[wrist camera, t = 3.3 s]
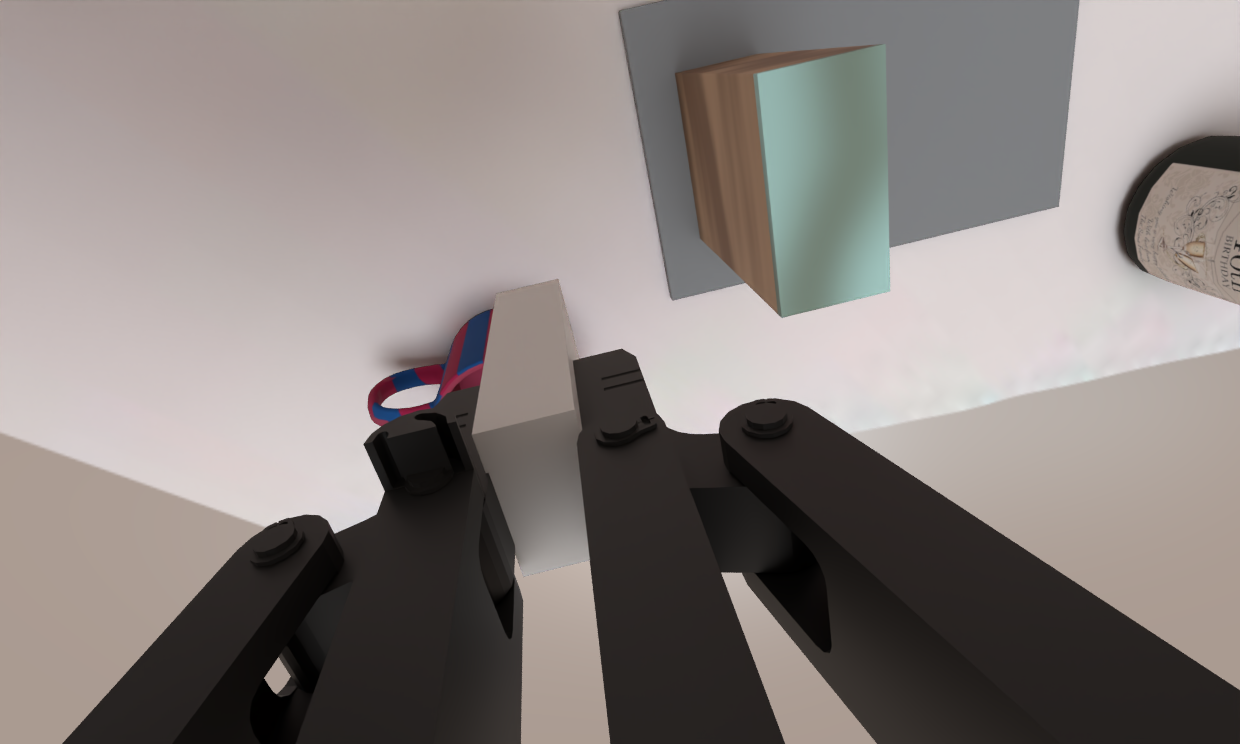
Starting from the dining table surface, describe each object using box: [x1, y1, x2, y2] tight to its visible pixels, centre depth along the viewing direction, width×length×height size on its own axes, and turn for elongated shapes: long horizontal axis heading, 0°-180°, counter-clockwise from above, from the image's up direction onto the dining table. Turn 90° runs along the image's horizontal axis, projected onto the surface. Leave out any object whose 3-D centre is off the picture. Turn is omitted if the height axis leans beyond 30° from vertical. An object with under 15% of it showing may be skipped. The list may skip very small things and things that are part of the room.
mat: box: [619, 0, 1079, 300], centre depth 32 cm, size 22×14×1 cm, turn 102°
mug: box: [368, 309, 493, 426], centre depth 32 cm, size 7×10×7 cm
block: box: [675, 44, 890, 318], centre depth 26 cm, size 4×8×12 cm, turn 12°
